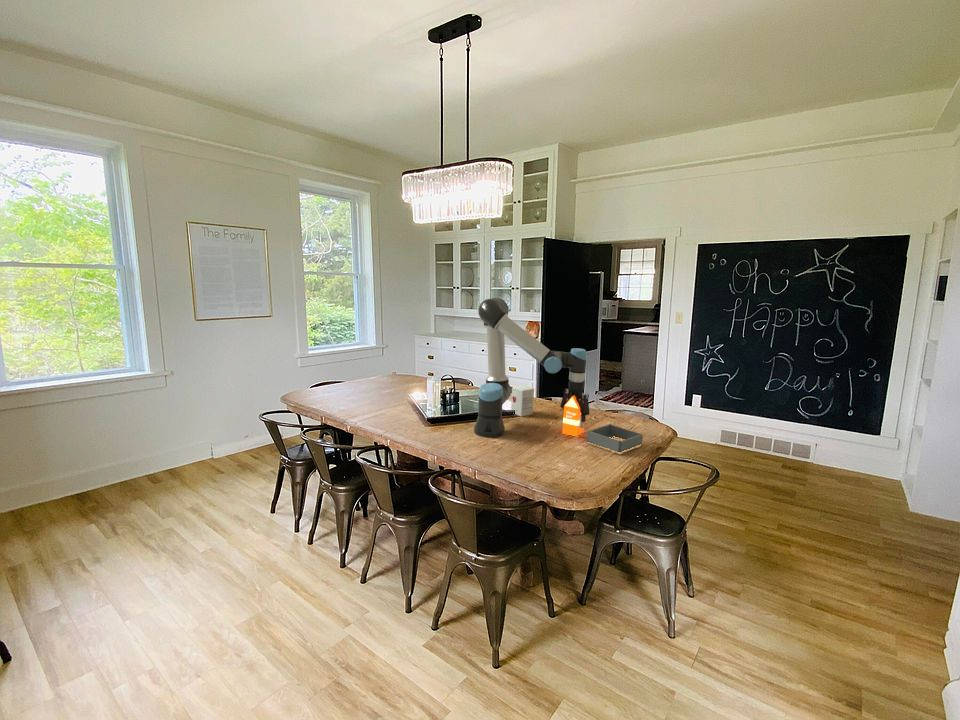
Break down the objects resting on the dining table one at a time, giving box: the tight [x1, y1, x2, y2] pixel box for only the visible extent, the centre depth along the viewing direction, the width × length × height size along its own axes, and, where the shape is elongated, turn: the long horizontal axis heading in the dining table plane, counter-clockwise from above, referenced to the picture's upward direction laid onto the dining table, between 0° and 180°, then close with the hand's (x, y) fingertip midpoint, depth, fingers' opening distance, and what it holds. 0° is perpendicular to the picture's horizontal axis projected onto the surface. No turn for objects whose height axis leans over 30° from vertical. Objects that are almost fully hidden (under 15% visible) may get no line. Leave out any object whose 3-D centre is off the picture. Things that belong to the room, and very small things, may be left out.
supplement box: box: [510, 384, 535, 418], centre depth 253 cm, size 9×9×15 cm
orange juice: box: [561, 395, 585, 437], centre depth 222 cm, size 8×9×20 cm
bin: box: [586, 423, 644, 452], centre depth 210 cm, size 18×18×6 cm
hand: (573, 425), depth 223 cm, fingers closed on orange juice, 9 cm apart
